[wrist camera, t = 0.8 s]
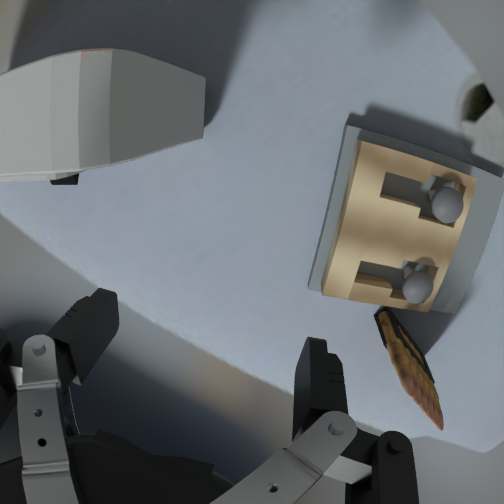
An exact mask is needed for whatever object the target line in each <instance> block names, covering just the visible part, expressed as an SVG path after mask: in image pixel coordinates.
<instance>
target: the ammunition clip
mask: <svg viewBox="0 0 504 504" xmlns="http://www.w3.org/2000/svg"><path fill="white" fill-rule="evenodd" d="M374 318H375V321H376V323H377V326H378V329H379V332H380V335H381V338H382V341H383V344H384V346H385V347H386V349H387V350H388V351H389V355H390V358H391V361H392V364H393V366H394V368H395V369H396V371H397V374H398V376H399V379H400V382H401V384H402V386H403V388H404V390H405V391H406V393H407V394H408V395H409V396H411V397H412V399H413V400H414V402H415V403H416V404H418V405H419V407H420V408H421V409H422V410H423V411H424V412H425V413H426V415H427V416H428V417H429V418H430V419H431V420H432V422H433V423H434V424H435V425H436V426H437V427H438V428H439V429H440V430H441V431H442V430H443V425H444V424H443V415H442V411H441V407H440V404H439V397H438V394H437V392H436V389H435V386H434V383H435V382H434V379H433V377H432V374H431V372H430V369H429V367H428V364H427V362H426V359H425V357H424V355H423V353H422V352H421V351H420V349H419V348H418V346H417V345H416V344H415V342H414V341H413V340H412V338H411V337H410V336H409V334H408V333H407V331H406V330H405V329H404V327H403V326H402V325H401V323H400V322H399V321H398V319H397V318H396V317H395V316H394V314H393V313H392V312H391V310H390V309H389V308H388V306H386V307H385V308H383V309H382V310H381V311H379V312H378V313H376V314H375V315H374Z"/></svg>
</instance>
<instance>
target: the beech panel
mask: <svg viewBox="0 0 504 504" xmlns="http://www.w3.org/2000/svg"><path fill="white" fill-rule="evenodd" d="M386 172H389V173H393V174H396V175H400V176H403V177H407V178H410V179H414V180H417V181H420V182H423V183H427V184H428V181H429V177H430V174H433V175H436V176H439V177H442V178H445V179H447V180H450V181H453V182H456V185H455V190H457V191H458V192H459V193H460V194H461V196H462V198H463V202H464V207H463V211H462V213H461V215H460V217H459V218H458V219H457V220H456V221H454V222H452V223H443V222H441V221H440V220H439V219H437V218H433V217H430V216H426V215H423V214H419V213H420V209H421V208H420V207H419V206H417V205H416V204H415V203H414V202H412V201H408V200H404V199H401V198H397V197H393V196H389V195H386V194H382V193H381V189H382V185H383V181H384V177H385V173H386ZM476 182H477V178H474V177H472V176H470V175H468V174H465V173H462V172H460V171H457V170H454V169H452V168H449V167H446V166H443V165H441V164H438V163H435V162H432V161H429V160H426V159H423V158H420V157H417V156H414V155H411V154H407V153H404V152H401V151H398V150H394V149H391V148H388V147H384V146H380V145H377V144H373V143H370V142H366V141H362V140H358V139H357V141H356V146H355V151H354V155H353V160H352V165H351V169H350V173H349V178H348V182H347V186H346V191H345V195H344V199H343V203H342V207H341V211H340V215H339V219H338V223H337V227H336V231H335V234H334V238H333V242H332V245H331V249H330V253H329V256H328V260H327V264H326V267H325V271H324V274H323V277H322V281H321V291H322V295H324V296H330V297H335V298H341V299H347V300H353V301H358V302H364V303H370V304H376V305H382V306H388V307H395V308H401V309H407V310H414V311H420V312H426V313H428V312H429V310H430V308H431V305H432V303H433V301H434V299H435V297H436V294H437V292H438V290H439V288H440V285H441V283H442V281H443V278H444V276H445V274H446V271H447V269H448V266H449V264H450V261H451V259H452V256H453V253H454V251H455V248H456V245H457V243H458V240H459V237H460V234H461V231H462V228H463V225H464V222H465V219H466V216H467V213H468V210H469V207H470V203H471V200H472V197H473V193H474V190H475V186H476ZM404 260H408V261H412V262H417V263H422V264H426V265H429V267H428V269H427V272H426V273H427V274H428V275H429V276H430V278H431V279H432V281H433V291H432V293H431V295H430V296H429V297H428V298H427V299H426V300H425V301H423V302H421V303H417V304H414V303H410V302H408V301H407V300H406V298H405V296H404V294H403V292H402V290H400V289H394V288H392V287H391V285H390V283H389V281H388V279H385V278H380V277H375V276H370V275H364V274H359V273H357V271H358V268H359V265H360V261H366V262H371V263H376V264H381V265H386V266H391V267H396V268H401V266H402V264H403V261H404Z"/></svg>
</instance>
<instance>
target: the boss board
mask: <svg viewBox="0 0 504 504" xmlns="http://www.w3.org/2000/svg"><path fill="white" fill-rule="evenodd" d="M357 139H358V140H362V141H366V142H370V143H373V144H377V145H380V146H384V147H388V148H391V149H394V150H398V151H401V152H404V153H407V154H411V155H414V156H417V157H420V158H423V159H426V160H429V161H432V162H435V163H438V164H441V165H443V166H446V167H449V168H452V169H454V170H457V171H460V172H462V173H465V174H468V175H470V176H472V177H474V178H477V182H476V186H475V190H474V193H473V197H472V200H471V203H470V207H469V210H468V213H467V216H466V219H465V222H464V225H463V228H462V231H461V234H460V237H459V240H458V243H457V245H456V248H455V251H454V253H453V256H452V259H451V261H450V264H449V266H448V269H447V271H446V274H445V276H444V278H443V281H442V283H441V285H440V288H439V290H438V292H437V294H436V297H435V299H434V301H433V303H432V305H431V308H430V310H431V311H438V312H444V313H451V314H456V312H457V310H458V308H459V306H460V304H461V302H462V300H463V298H464V296H465V293H466V291H467V289H468V287H469V285H470V282H471V280H472V278H473V276H474V273H475V271H476V268H477V266H478V264H479V261H480V259H481V256H482V254H483V251H484V248H485V246H486V243H487V240H488V238H489V235H490V232H491V229H492V226H493V223H494V220H495V217H496V214H497V211H498V208H499V204H500V201H501V198H502V194H503V191H504V179H502V178H500V177H498V176H495V175H493V174H491V173H489V172H486V171H484V170H482V169H479V168H477V167H475V166H472V165H470V164H467V163H465V162H462V161H460V160H457V159H455V158H452V157H449V156H447V155H444V154H441V153H438V152H436V151H433V150H430V149H427V148H424V147H421V146H418V145H415V144H412V143H409V142H406V141H403V140H400V139H396V138H393V137H390V136H386V135H383V134H379V133H376V132H372V131H369V130H365V129H361V128H357V127H353V126H349V125H345V127H344V132H343V137H342V142H341V147H340V152H339V156H338V161H337V166H336V170H335V175H334V179H333V184H332V188H331V193H330V197H329V201H328V206H327V210H326V214H325V218H324V222H323V226H322V230H321V234H320V238H319V242H318V246H317V250H316V254H315V258H314V262H313V265H312V269H311V273H310V277H309V280H308V290H313V291H319V292H322V291H321V281H322V277H323V274H324V271H325V267H326V264H327V260H328V256H329V253H330V249H331V245H332V242H333V238H334V234H335V231H336V227H337V223H338V219H339V215H340V211H341V207H342V203H343V199H344V195H345V191H346V186H347V182H348V178H349V173H350V169H351V165H352V160H353V155H354V151H355V146H356V141H357ZM455 185H456V182H453V181H450V180H447V179H445V178H442V177H439V176H436V175H433V174H430V177H429V181H428V184H427V183H423V182H420V181H417V180H414V179H410V178H407V177H403V176H400V175H396V174H393V173H389V172H386V173H385V177H384V181H383V185H382V189H381V193H382V194H386V195H389V196H393V197H397V198H401V199H404V200H408V201H412V202H414V203H415V204H416V205H417V206H419V207H420V208H421V209H420V213H419V214H423V215H426V216H430V217H433V218H437V219H439V220H440V221H441V222H443V223H452V222H454V221H456V220H457V219H458V218H459V217H460V215H461V213H462V211H463V207H464V202H463V198H462V196H461V194H460V193H459V192H458V191H457V190H455ZM428 267H429V265H426V264H422V263H417V262H412V261H408V260H404V261H403V264H402V266H401V268H396V267H391V266H386V265H381V264H376V263H371V262H366V261H360V265H359V268H358V271H357V273H359V274H364V275H370V276H375V277H380V278H385V279H388V281H389V283H390V285H391V287H392V288H394V289H400V290H402V292H403V294H404V296H405V298H406V300H407V301H408V302H410V303H414V304H417V303H421V302H423V301H425V300H426V299H427V298H428V297H429V296H430V295H431V293H432V291H433V281H432V279H431V278H430V276H429V275H428V274H427V273H426V272H427V269H428Z"/></svg>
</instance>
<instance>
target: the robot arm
mask: <svg viewBox="0 0 504 504" xmlns="http://www.w3.org/2000/svg"><path fill="white" fill-rule="evenodd" d="M118 327H119V312H118V301H117V294H116V293H115V292H113V291H109V290H106V289H102V288H98V289H97V290H96V291H95V292H94V293H93V295H91V297H88V296H86V297H84V298H82V299H80V300H78V301H77V302H76V303H75V304H74V305H73V306H72V307H71V308H70V310H68V311H67V312H66V313H65V316H63V317H62V318H61V319H60V320H59V321H58V322H57V323H56V324H55V325H54V326H53V327H52V329H51V330H50V331H49V332H48V333H47V334H46V335H36V336H32V337H30V338H29V339H28V340H26V342H18V341H11V340H9V337H8V334H7V332H6V331H5V330H3V329H0V430H1V428H2V427H3V425H4V423H5V421H6V420H7V418H8V416H9V415H10V413H11V412H12V410H13V409H14V407H15V405H16V404H17V402H18V420H19V432H20V442H21V450H22V456H20V457H17V458H15V459H12V460H9V461H6V462H3V463H1V464H0V504H295V503H296V502H297V501H298V500H299V499H300V498H301V497H302V496H303V495H304V494H305V493H306V492H307V491H308V490H309V489H310V488H311V487H312V486H313V485H314V484H315V483H316V482H317V481H318V480H319V479H320V478H321V477H322V475H326V476H329V477H332V478H335V479H338V480H341V481H343V482H346V488H345V504H419V497H418V487H417V479H416V470H415V463H414V455H413V449H412V444H411V442H410V440H409V439H408V438H407V437H406V436H405V435H404V434H402V433H400V432H397V431H387V432H385V433H383V434H382V435H381V436H380V437H379V436H376V435H373V434H370V433H367V432H365V431H362V430H360V429H359V428H357V426H356V423H355V421H354V420H353V419H352V418H351V417H350V416H349V414H348V407H347V398H346V390H345V384H344V376H343V366H342V363H341V361H340V360H339V358H338V356H337V355H336V354H332V353H328V351H327V342H326V340H324V339H318V338H312V337H307V339H306V341H305V344H304V347H303V350H302V352H301V355H300V358H299V360H298V363H297V367H296V371H295V381H294V409H293V431H292V444H291V445H290V446H289V447H288V448H286V449H285V448H283V449H281V450H279V451H278V452H277V453H276V454H274V455H273V456H272V457H271V458H270V459H268V460H267V461H266V462H265V463H263V464H262V465H261V466H260V467H259V468H257V469H256V470H255V471H253V472H252V473H251V474H250V475H248V476H247V477H246V478H244V480H242V481H240V482H239V483H238V484H236V485H234V484H232V483H231V482H230V481H229V480H227V479H226V478H224V477H223V476H221V475H219V474H217V473H215V472H213V468H214V464H210V463H206V462H201V461H197V460H193V459H189V458H185V457H173V456H159V455H152V454H149V453H147V452H146V451H144V450H142V449H140V448H139V447H137V446H136V445H134V444H133V443H131V442H129V441H128V440H126V439H124V438H122V437H119V436H117V435H114V434H111V433H109V432H106V431H103V430H101V429H98V431H97V433H96V435H80V434H79V432H78V429H77V425H76V421H75V417H74V411H73V406H72V401H71V395H70V390H69V385H70V384H71V382H74V383H76V384H79V385H82V383H83V382H84V380H85V379H86V377H87V376H88V374H89V373H90V371H91V370H92V368H93V367H94V365H95V364H96V362H97V361H98V359H99V358H100V356H101V355H102V353H103V352H104V351H105V349H106V348H107V346H108V345H109V343H110V342H111V340H112V339H113V337H114V336H115V335H116V333H117V330H118Z"/></svg>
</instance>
